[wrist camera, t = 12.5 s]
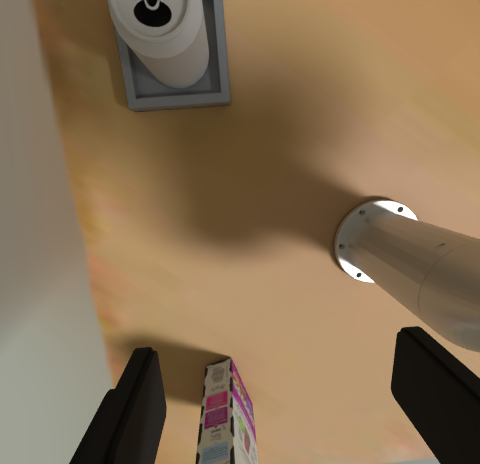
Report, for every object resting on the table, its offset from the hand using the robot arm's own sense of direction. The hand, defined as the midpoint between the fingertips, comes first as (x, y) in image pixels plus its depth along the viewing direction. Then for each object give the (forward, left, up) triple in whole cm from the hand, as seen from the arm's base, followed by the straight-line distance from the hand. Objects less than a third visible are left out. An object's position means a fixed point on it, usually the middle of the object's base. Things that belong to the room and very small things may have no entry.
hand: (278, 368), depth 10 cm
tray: (+6, -21, -28) cm, 35 cm away
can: (+6, -20, -28) cm, 35 cm away
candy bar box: (+4, +29, -28) cm, 41 cm away
